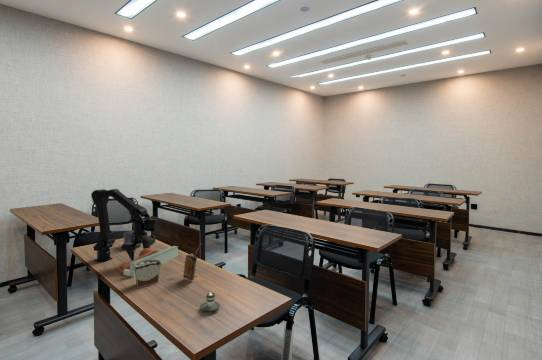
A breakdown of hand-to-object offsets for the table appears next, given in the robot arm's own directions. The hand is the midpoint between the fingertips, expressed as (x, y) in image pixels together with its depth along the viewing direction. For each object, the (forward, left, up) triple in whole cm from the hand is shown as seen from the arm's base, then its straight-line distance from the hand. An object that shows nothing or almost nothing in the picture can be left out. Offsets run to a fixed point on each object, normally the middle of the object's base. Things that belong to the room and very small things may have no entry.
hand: (139, 258), depth 159 cm
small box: (-24, +18, -3) cm, 30 cm away
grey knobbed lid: (+62, -25, -3) cm, 67 cm away
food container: (+23, -19, -3) cm, 30 cm away
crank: (+5, -4, -3) cm, 7 cm away
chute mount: (+10, 0, -3) cm, 11 cm away
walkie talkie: (+37, -8, -3) cm, 38 cm away
